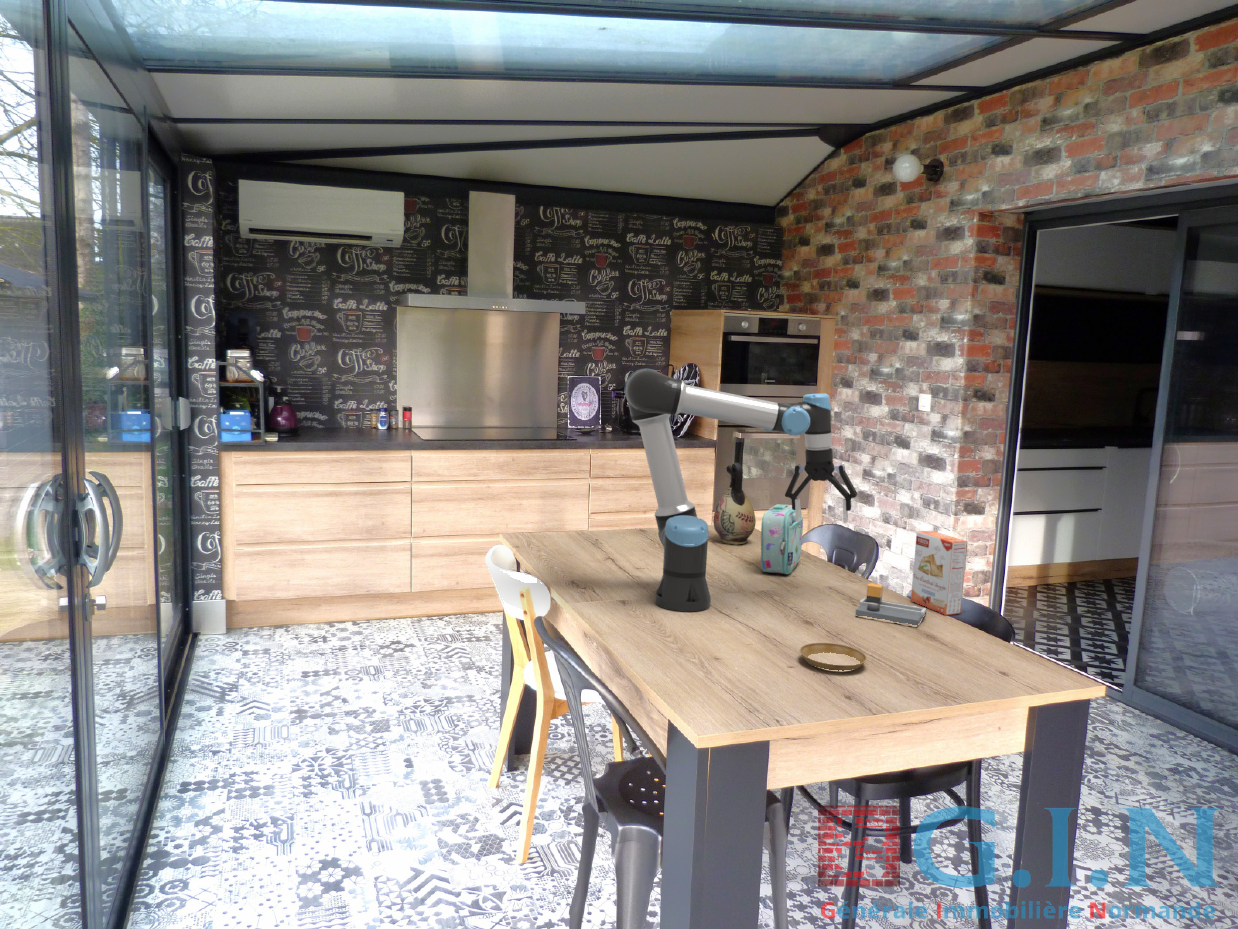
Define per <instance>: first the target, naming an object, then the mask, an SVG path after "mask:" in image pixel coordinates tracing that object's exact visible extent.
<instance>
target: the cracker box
mask: <svg viewBox="0 0 1238 929" xmlns="http://www.w3.org/2000/svg"><path fill="white" fill-rule="evenodd" d="M914 547H915V548H914V557H913V558H914V560H913V572H912V583H911V591H910V592H911V593H910V602H912V603H914V602H915V603H914V604H917V605H919V604H920V605H919V606H921V605H922V606H921V607H924V606H925V607H924V608H926V607H927V609H929V610H931V609H933V610H932V611H934V610H935V611H934V612H936V611H938V612H939V614H941V613H944V615H943V616H953V615H960V614H961V612H962V604H963V603H962V602H963V593H964V591H963V590H964V581H965V571H966V562H967V551H968V540H966V539H965V540H964V539H961V538H958V537H954V536H951V535H949V534H944V533H941V532H938V531H933V530H919V531H916V538H915V546H914ZM960 598H961V599H960ZM938 612H937V613H938Z"/></svg>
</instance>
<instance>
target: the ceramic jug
mask: <svg viewBox="0 0 1238 929" xmlns="http://www.w3.org/2000/svg"><path fill="white" fill-rule="evenodd" d="M725 469H726V473H728V475H730V483H729V486H728V488H727V489H726V491H725V492H724V494H723V495H722V496H721V498H720V500H719V501H718V503H717V505H716V507H715V510H714V513H713V520H712V522H713V523H712V524H713V527H714V530H715V532H716V533H717V535H718V536H719V538H720V539H721V542H722V543H723V544H729V545H735V546H737V545H743V544H747V543H748V538H750V537H751V536H752V535H753V532H754V530H755V528H756V515H755V510H754V506H753V505H752V503H751V502H750V500H749V498H748V496H747V495H746V492H745V491H744V490H743V478H744V475H743V473H744V472H743V471H744V470H743V467H742V465H741V463H740V462H734V463H732V465H727V467H726V468H725Z"/></svg>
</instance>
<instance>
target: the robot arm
mask: <svg viewBox="0 0 1238 929" xmlns="http://www.w3.org/2000/svg"><path fill="white" fill-rule="evenodd" d="M623 391H624V396H625V399H626V400H627V405H628V409H629V413H630V416H631V417H630V418H631V420H632V422H633V423H634V424H636V425H637V426H638V428H639V431H640V436H641V440H642V443H643V447H644V453H645V457H646V461H647V464H648V468H649V474H650V478H651V480H652V481H651V482H652V485H653V486H652V487H653V490H654V494H655V498H656V502H657V506H658V507H657V509H656V511H655V512H654V516H655V521H656V524H657V530H658V533H657V534H658V539H659V541H660V543H661V545H662V546H663V564H662V565H663V568H662V575H661V576H662V577H661V579H660V581H659V585H658V587H657V589H656V591H655V594H654V596H655V597H654V603H655V604H656V605H657V606H659V608H663V609H666V610H669V611H670V610H671V611H676V612H698V611H699V612H701V611H705V610H707V609H710V607H711V603H712V602H711V600H712V599H711V593H710V590H709V586H708V581H707V578H706V576H707V574H706V573H707V561H708V560H707V559H708V556H707V555H708V540H709V535H710V531H709V525H708V523H707V522H706V521H705V520H704V519H702V518H699V517H698V515H697V509H696V506H695V504H694V503H693V502H691V501H690V500H688V496H687V491H686V488H685V487H686V486H685V483H684V478H683V474H682V469H681V466H680V462H679V457H678V453H677V449H676V444H675V440H674V435H673V432H672V426H671V422H670V417H671V416H677V415H679V414H686V415H691V416H697V417H702V418H706V419H712V420H718V421H722V422H728V423H733V424H737V425H743V426H748V427H753V428H758V429H763V430H764V431H765V432H778V433H783V434H788V436H793V437H795V436H796V437H797V436H802V435H803V434H804V447H805V448H806V449H805V450H804V452H805V465H801V464H796V465H795V467H794V473H793V476H792V478H791V480H790V482H789V484H788V487H787V489H786V491H785V494H784V497H786V498H789V499H790V500H791V505H792V509H793V510H795V511H796V522H799V521H800V520H801V517H802V515H801V513H802V511H801V512H800V508H801V498H800V497H798V496H800V494H801V493H802V491H803V490H804V489H805V488H806V486H808V484H809V482H810V481H814V482H817V481H822V482H825V481H828V482H829V483H831V485H833V487H834V488H835V489H836V490H837V491H838V492H839V494H841V496H842V497H843V499H842V513H843V514H842V515H843V516H842V517H843V518H842V519H843V524H846V523H848V522H849V511H851V510H852V499H855V498H856V497H857V496H858V495H859V494H858V492H857V489H856V488H855V486H854V485H853V482H852V481H851V479H850V477H849V475H848V474H847V472H846V467H845V464H843V463H841V464H839V465H834V460H833V459H834V458H833V448H832V447H833V435H832V433H833V432H832V406H831V397H830V396H829V394H827V393H824V392H823V393H820V392H819V393H810V394H804V395H803V397H802V400H801V401H799V402H785V403H784V402H783V403H779V402H776V401H775V402H774V401H769V400H766V399H765V400H764V399H759V398H754V397H749V396H744V395H740V394H735V393H729V392H724V391H719V390H715V389H709V388H704V387H699V386H694V385H689V384H686V383H685V382H684V380H683V379H678V378H674V377H671V376H668V375H666V374H663V373H661V372H658V371H657V370H655V369H651V368H639V369H637V370H635V371H634V372H632V373H631V374H630V375H629V376H628V378H627V379H626V382H625V384H624V388H623ZM804 471H805V473H806V474H807V476H806V478H804V480H803V481H802V482H801V483H800V484H799V486H798V487H797V488H796V490H795V491H794V492H793V490H794V488H795V487H796V485H797V482H798V479H799V478H800V475H801V473H803V472H804ZM834 471H836V472H837V473H838V474H839V476H840V477H841V480H842V481H843V483H844V485H845V487H846V488H847V489H846V488H845V487H844V485H842V483H840V482H839V481H838V479H837V477H836V476H835V475H834V474H833V473H834ZM704 609H705V610H704Z"/></svg>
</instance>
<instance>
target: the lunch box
mask: <svg viewBox="0 0 1238 929" xmlns="http://www.w3.org/2000/svg"><path fill="white" fill-rule="evenodd" d="M800 512H801V520H800V521H799V522H796V511H795V510H793V509H792V504H777V503H776V504H775V505H773V506H772V507H770V508H768V509H766V511H765V512H764V514H763V515H762V519H761V526H760V527H761V529H760V530H761V531H760V567H761V570H762V573H763V572H764V573H771V574H782V575H790V574H791V573H792V572H793V571H794V569H795V568H796V567H797V565H798V563H799V561H800V558H801V554H802V542H803V529H804V518H803V515H802V508H801V507H800Z"/></svg>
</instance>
